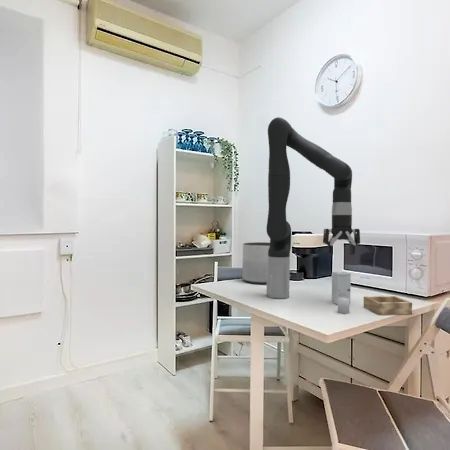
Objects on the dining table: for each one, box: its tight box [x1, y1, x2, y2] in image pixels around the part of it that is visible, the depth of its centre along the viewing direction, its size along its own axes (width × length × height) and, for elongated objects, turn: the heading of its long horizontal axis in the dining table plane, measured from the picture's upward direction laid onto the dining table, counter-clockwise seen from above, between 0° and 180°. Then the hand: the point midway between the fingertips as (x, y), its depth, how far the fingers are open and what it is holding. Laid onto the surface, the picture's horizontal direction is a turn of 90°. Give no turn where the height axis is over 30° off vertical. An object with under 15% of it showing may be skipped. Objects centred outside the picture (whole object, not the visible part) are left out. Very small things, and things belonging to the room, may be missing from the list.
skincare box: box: [331, 271, 352, 305], centre depth 134 cm, size 6×4×12 cm
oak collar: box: [363, 295, 413, 316], centre depth 123 cm, size 12×10×4 cm
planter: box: [241, 241, 270, 285], centre depth 180 cm, size 23×23×20 cm
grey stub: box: [337, 297, 351, 315], centre depth 120 cm, size 4×4×5 cm
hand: (341, 254), depth 133 cm, fingers open, 8 cm apart
